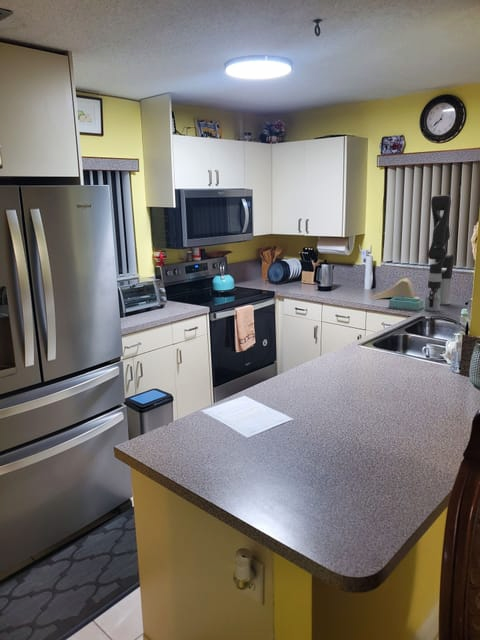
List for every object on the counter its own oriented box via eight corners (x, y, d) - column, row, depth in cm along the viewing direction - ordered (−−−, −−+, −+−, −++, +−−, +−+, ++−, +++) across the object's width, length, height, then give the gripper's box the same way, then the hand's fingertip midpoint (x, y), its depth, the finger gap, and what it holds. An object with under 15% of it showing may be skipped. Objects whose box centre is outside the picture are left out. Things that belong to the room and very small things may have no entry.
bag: (415, 302, 356) (366, 298, 360) (417, 278, 354) (368, 274, 358) (422, 304, 337) (370, 300, 341) (425, 279, 335) (373, 275, 339)
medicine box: (439, 310, 306) (440, 296, 304) (436, 311, 302) (438, 297, 300) (427, 308, 311) (428, 295, 309) (424, 309, 307) (425, 296, 306)
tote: (394, 304, 326) (395, 296, 325) (422, 306, 317) (423, 299, 316) (388, 307, 313) (389, 300, 312) (417, 310, 304) (418, 302, 303)
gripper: (430, 278, 310) (428, 303, 314) (426, 281, 298) (423, 307, 302) (443, 279, 306) (440, 304, 310) (439, 282, 294) (436, 308, 298)
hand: (432, 306), depth 306 cm, fingers open, 8 cm apart
